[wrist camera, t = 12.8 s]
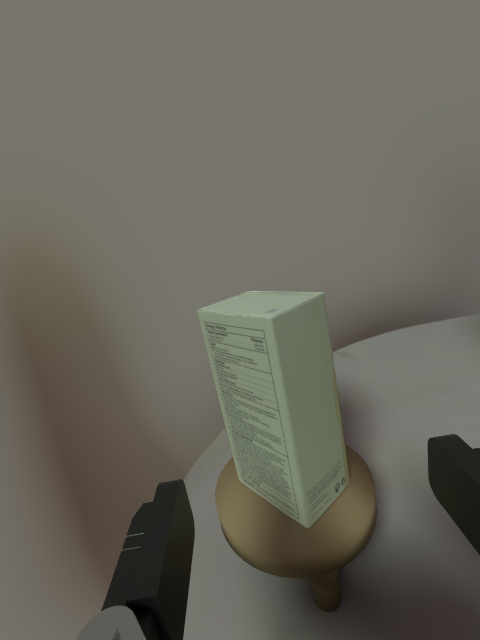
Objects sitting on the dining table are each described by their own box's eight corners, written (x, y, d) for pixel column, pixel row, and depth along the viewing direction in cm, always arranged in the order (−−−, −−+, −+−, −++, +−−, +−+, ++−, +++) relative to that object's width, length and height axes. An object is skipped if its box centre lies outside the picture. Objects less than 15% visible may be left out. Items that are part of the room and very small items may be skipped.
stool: (328, 478, 29) (320, 418, 27) (418, 590, 20) (415, 509, 18) (217, 522, 27) (202, 459, 25) (261, 672, 17) (240, 588, 16)
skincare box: (352, 485, 20) (332, 291, 17) (306, 535, 18) (272, 317, 14) (276, 445, 25) (250, 288, 22) (231, 480, 22) (193, 307, 19)
